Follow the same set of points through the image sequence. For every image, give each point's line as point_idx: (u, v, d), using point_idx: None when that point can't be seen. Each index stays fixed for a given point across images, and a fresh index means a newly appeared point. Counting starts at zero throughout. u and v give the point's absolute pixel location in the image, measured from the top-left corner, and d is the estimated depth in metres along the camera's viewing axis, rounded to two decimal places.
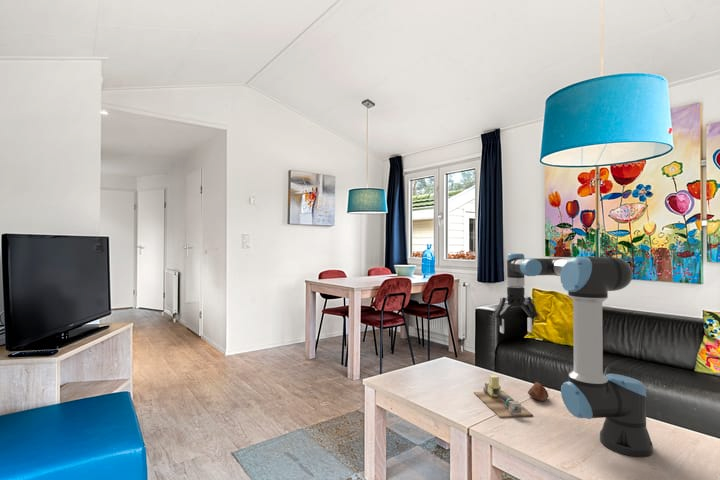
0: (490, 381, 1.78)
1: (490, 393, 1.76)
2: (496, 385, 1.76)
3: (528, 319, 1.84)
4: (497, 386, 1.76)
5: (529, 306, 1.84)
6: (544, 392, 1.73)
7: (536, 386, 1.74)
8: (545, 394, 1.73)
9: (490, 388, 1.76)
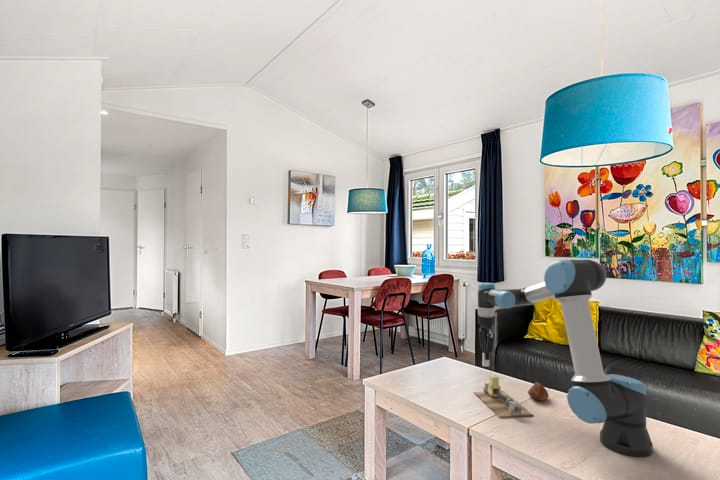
0: (490, 381, 1.78)
1: (490, 393, 1.76)
2: (496, 385, 1.76)
3: None
4: (497, 386, 1.76)
5: None
6: (544, 392, 1.73)
7: (536, 386, 1.74)
8: (545, 394, 1.73)
9: (490, 388, 1.76)
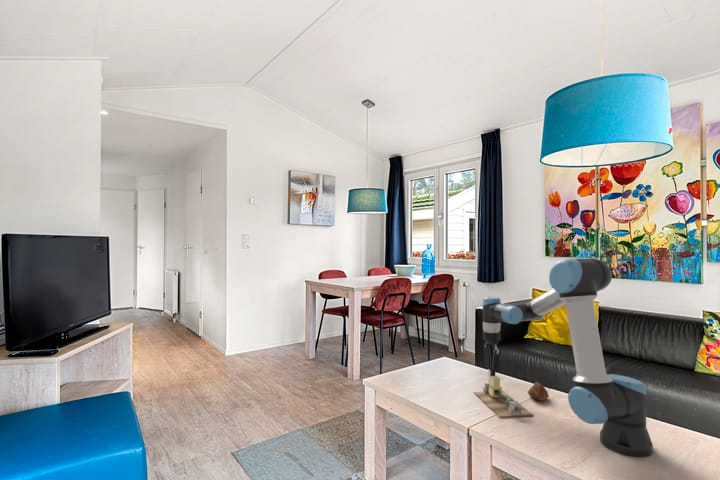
0: (491, 382, 1.77)
1: (491, 394, 1.75)
2: (497, 386, 1.75)
3: None
4: (498, 387, 1.75)
5: None
6: (544, 392, 1.73)
7: (536, 386, 1.74)
8: (545, 394, 1.73)
9: (491, 389, 1.75)
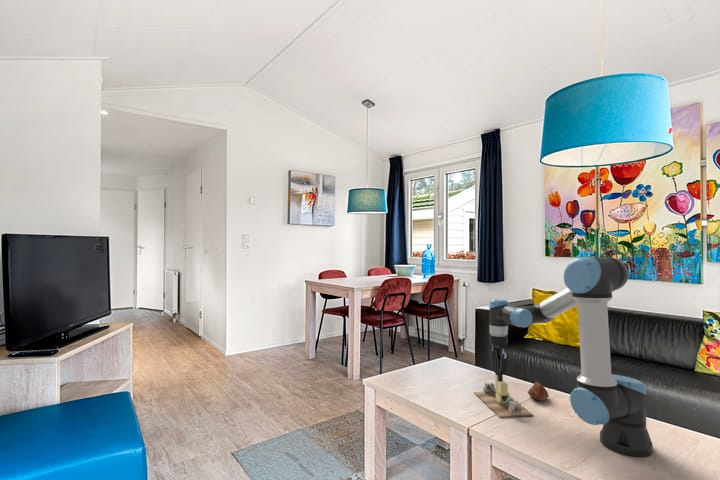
0: (498, 388, 1.70)
1: (498, 400, 1.68)
2: (505, 392, 1.68)
3: None
4: (506, 393, 1.68)
5: None
6: (544, 392, 1.73)
7: (536, 386, 1.74)
8: (545, 394, 1.73)
9: (498, 395, 1.68)
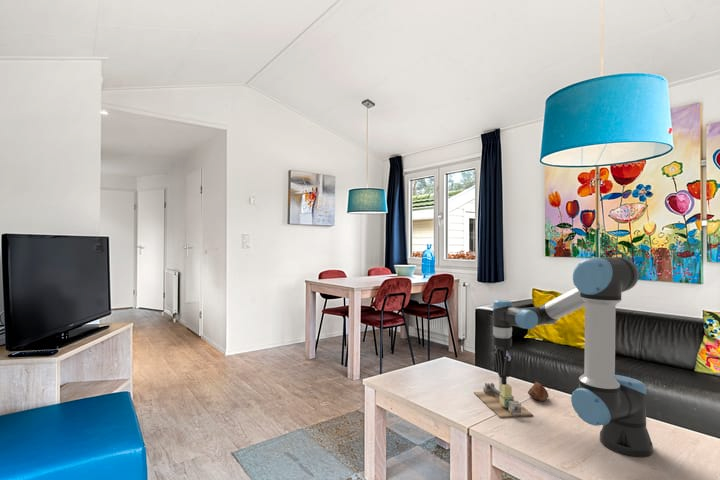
0: (502, 391, 1.66)
1: (502, 404, 1.65)
2: (509, 395, 1.64)
3: None
4: (510, 396, 1.64)
5: None
6: (544, 392, 1.73)
7: (536, 386, 1.74)
8: (545, 394, 1.73)
9: (502, 398, 1.65)
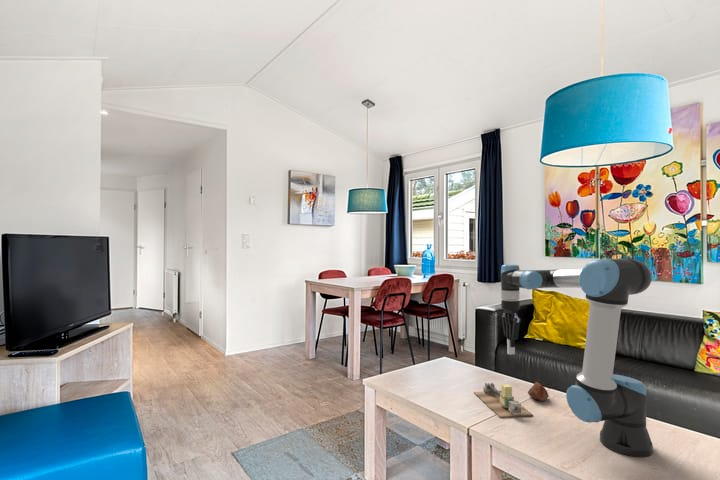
0: (502, 391, 1.66)
1: (503, 404, 1.64)
2: (509, 395, 1.64)
3: None
4: (510, 396, 1.64)
5: None
6: (544, 392, 1.73)
7: (536, 386, 1.74)
8: (545, 394, 1.73)
9: (503, 398, 1.64)
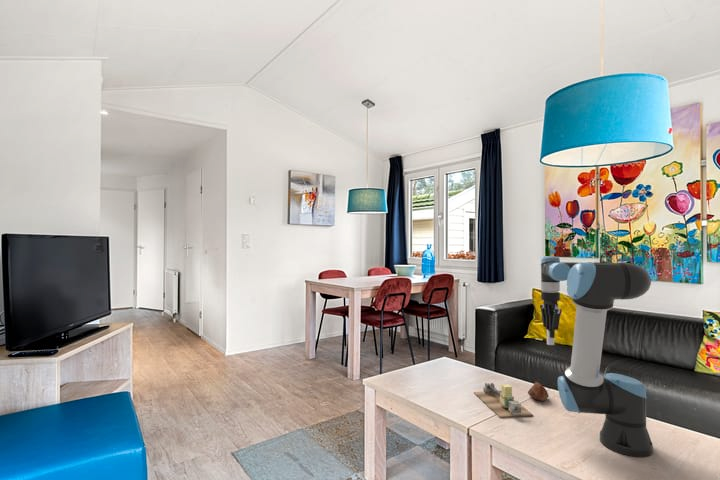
0: (502, 391, 1.66)
1: (503, 404, 1.64)
2: (509, 395, 1.64)
3: None
4: (510, 396, 1.64)
5: None
6: (544, 392, 1.73)
7: (536, 386, 1.74)
8: (545, 394, 1.73)
9: (503, 398, 1.64)
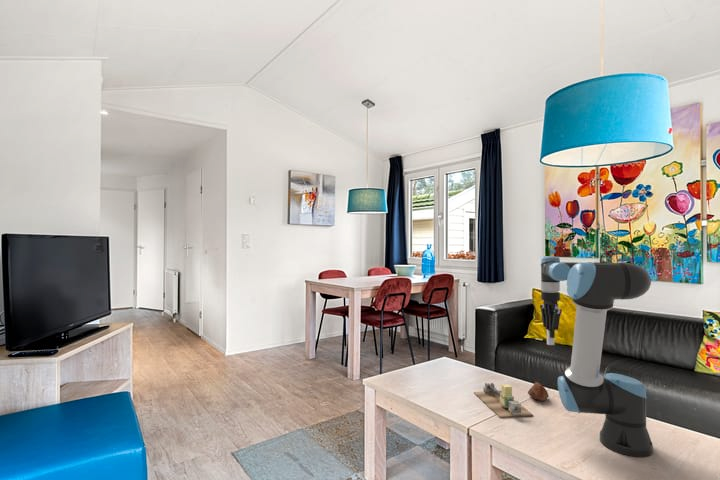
0: (502, 391, 1.66)
1: (503, 404, 1.64)
2: (509, 395, 1.64)
3: None
4: (510, 396, 1.64)
5: None
6: (544, 392, 1.73)
7: (536, 386, 1.74)
8: (545, 394, 1.73)
9: (503, 398, 1.64)
